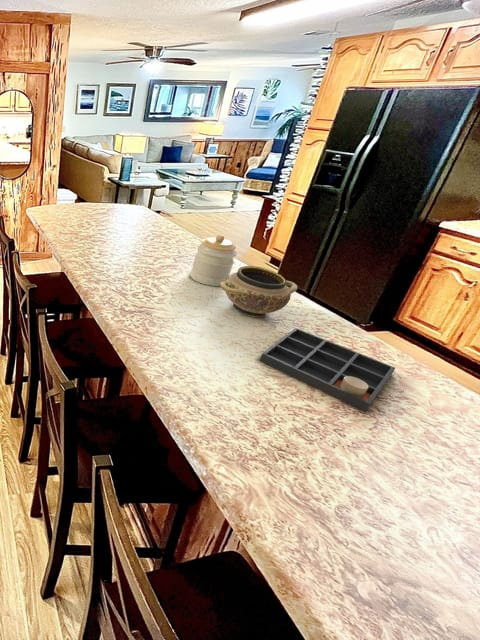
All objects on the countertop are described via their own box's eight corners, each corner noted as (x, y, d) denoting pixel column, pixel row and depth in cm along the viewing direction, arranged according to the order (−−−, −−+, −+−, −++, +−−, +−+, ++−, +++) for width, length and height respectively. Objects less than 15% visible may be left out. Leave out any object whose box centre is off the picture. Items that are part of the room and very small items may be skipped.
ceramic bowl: (220, 327, 121) (241, 292, 111) (197, 289, 134) (214, 255, 124) (296, 329, 121) (324, 294, 112) (266, 291, 135) (288, 257, 125)
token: (365, 394, 90) (371, 384, 89) (359, 401, 88) (365, 391, 86) (342, 383, 93) (347, 373, 92) (336, 390, 91) (341, 380, 89)
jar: (231, 289, 139) (246, 243, 132) (192, 283, 142) (204, 238, 135) (222, 274, 151) (236, 231, 143) (187, 270, 154) (198, 227, 146)
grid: (391, 375, 98) (395, 367, 96) (365, 412, 86) (370, 404, 85) (292, 334, 113) (295, 327, 112) (259, 360, 102) (262, 353, 101)
